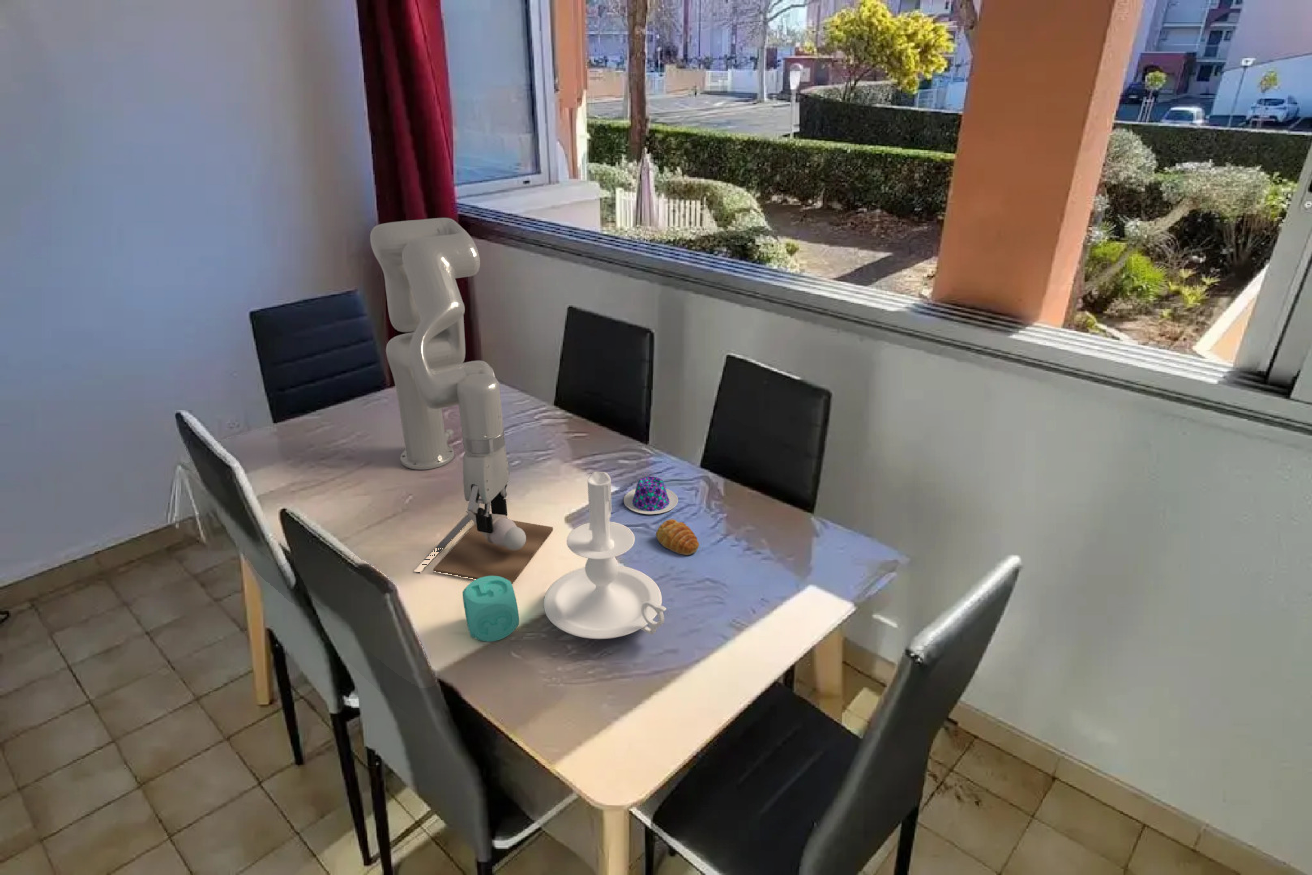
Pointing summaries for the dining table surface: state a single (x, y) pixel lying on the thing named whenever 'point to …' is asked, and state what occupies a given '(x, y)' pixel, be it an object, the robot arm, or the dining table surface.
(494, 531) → the ice cream cone
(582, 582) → the candlestick
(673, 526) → the pastry
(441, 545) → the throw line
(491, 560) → the board
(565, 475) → the dining table surface
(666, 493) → the pudding
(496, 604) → the decorative dice
